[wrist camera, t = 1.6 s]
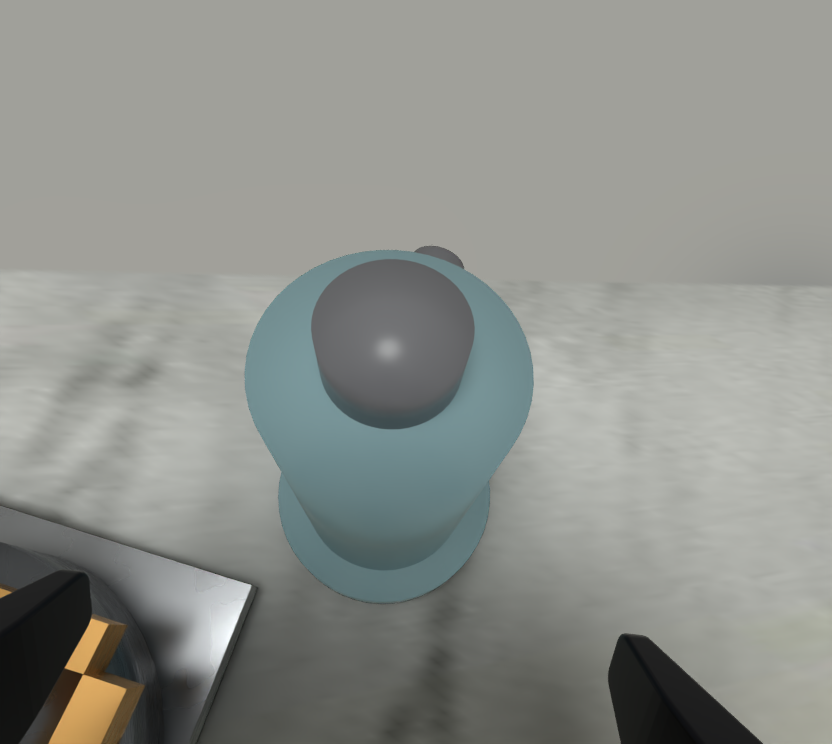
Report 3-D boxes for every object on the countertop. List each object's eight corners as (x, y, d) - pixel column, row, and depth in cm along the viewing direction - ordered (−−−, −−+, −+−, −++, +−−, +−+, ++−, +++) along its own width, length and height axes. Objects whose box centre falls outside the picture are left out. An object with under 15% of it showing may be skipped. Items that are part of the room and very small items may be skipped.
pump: (457, 632, 19) (579, 621, 7) (251, 567, 20) (70, 464, 8) (503, 418, 23) (630, 196, 11) (332, 369, 24) (288, 110, 12)
